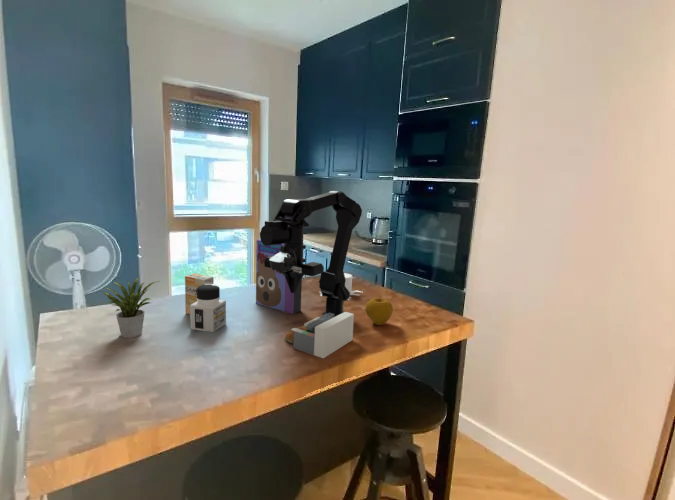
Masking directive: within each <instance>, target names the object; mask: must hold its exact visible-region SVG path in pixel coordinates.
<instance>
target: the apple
mask: <svg viewBox="0 0 675 500" xmlns="http://www.w3.org/2000/svg"><path fill="white" fill-rule="evenodd" d="M364 309H365V313H366V315H367V317H368V318H369V319H370V320H371V322H372V323H373V324H374V325H377V326H383V325H385V324H386V323H387V322H388V321H389V320H390V318H391V317H392V314H393V309H394V307H393V304H392V302H391V301H389V300H388V299H386V298H384V297H373V298H371V299H370V300H368V301H367V303H366V305H365V307H364Z"/></svg>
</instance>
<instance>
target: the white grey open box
mask: <svg viewBox="0 0 675 500" xmlns="http://www.w3.org/2000/svg"><path fill="white" fill-rule="evenodd" d="M354 318H355V313H351V312H348V311H344V313H342V314H340V315H338V316H336V317H334V318H332V319H330V320H328V321H326V322H324V323H322V324H320V325H318V326H316V327H315V334H313V333H310V332H307V331H304V330H301V329H297V328H298V327H293V328H291V329H290V331H292V330H293V331H294V343H293V349H295V350H298V351H301V352H304V353H306V354H308V355H309V354H310V355H312V356H315V357H317V358H321V359H325V358H326V357H328V356H330V355H332V353H335V352H336V351H337V350H339V349H340V348H342V347H344V346H345V345H347V344H348V343H350V342H351V341H353V339H354Z"/></svg>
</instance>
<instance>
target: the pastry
mask: <svg viewBox="0 0 675 500" xmlns="http://www.w3.org/2000/svg"><path fill="white" fill-rule="evenodd" d="M296 328H297V329H301V330H304V331H306V326H304V325H303V326H299V327H296ZM284 341H286V342H288V343H290V344H294V331H293V330H290V331H289V332H287V333H286V334H285V336H284Z"/></svg>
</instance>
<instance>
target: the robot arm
mask: <svg viewBox="0 0 675 500" xmlns="http://www.w3.org/2000/svg"><path fill="white" fill-rule="evenodd" d="M329 207H331V209H333V211H334V212H336V213H335V220H336V224H337V229H336V230H337V231H336V233H335V239H334V244H333V248H332V252H331V256H330V261H329V266H328V268H327V269H326V270H325V268H324V264H323V263H322V262H321V263H319V262H315V261H311V262H308V263H306V258H304V250H306V249H307V247H306V246H307V245H306V244H304V231H305V230H304V228H305V227H306V228H307V227H309V226H310V224H309V222H308V221H306V219H307V218H308V217H310V216H312V213H314V212H316V211H319V210H322V209H325V208H329ZM362 212H363V209H362V208H361V205H360V204H359V203H357V202H356V200H354V199H352V198H351V197H349V196H348V195H346V194H345V193H344V192H343V191H341V190H330V191H329V192H324V193H321V194H318V195H313V196H311V197H307V198H287V199H284V200H283V201H282V203H281V207H280V208H279V210H278V211H277V213H276V215H275V216H274V219H273V220H264V225H263V226H262V227H261V229H260V232H259V238H260V239H261V242H262V243H263V244H264V245H265V246H270V245H278V244H284V245H283V246H281V248H280V252H279V253H277V254H276V255H274V256H271V257H266V259H265V261H264V267H269V268H272V270H278V271H279V272H281V273H282V274H283V275H284V276H285V278H286V280H287V283H288V286H289V289H290V292H291V293H295V291H296V289H297V287H298V285H299V283H300V281H301V279H302V280H303V277H304V276H309V277H315V276H318V275H320V277H319V281H318V283H319V287H318V288H319V289H320V292H321V293H320V294H322V296H321V297H326V303H325V310H324V311H323V312H322V313H321V315H322V316H323V315H325V314H327V313H332V314H335V315H334V317H336V316H338V315H340V314H342V313H344V312H345V311H344V302H346V301H347V299H349V300H350V298H349V297H351V295H350V292H349V291H348V290H347V288H346V287H345V280H346V279H345V276H344V273H345V272H344V269H345V264H346V258H347V255H348V250H349V247H350V242H351V238H352V233H353V230H354V229H355V227H356V226H357V225H358V224H359V223H360V219H361V217H362V214H363V213H362ZM295 265H297V266H295ZM324 270H325V271H324Z"/></svg>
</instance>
